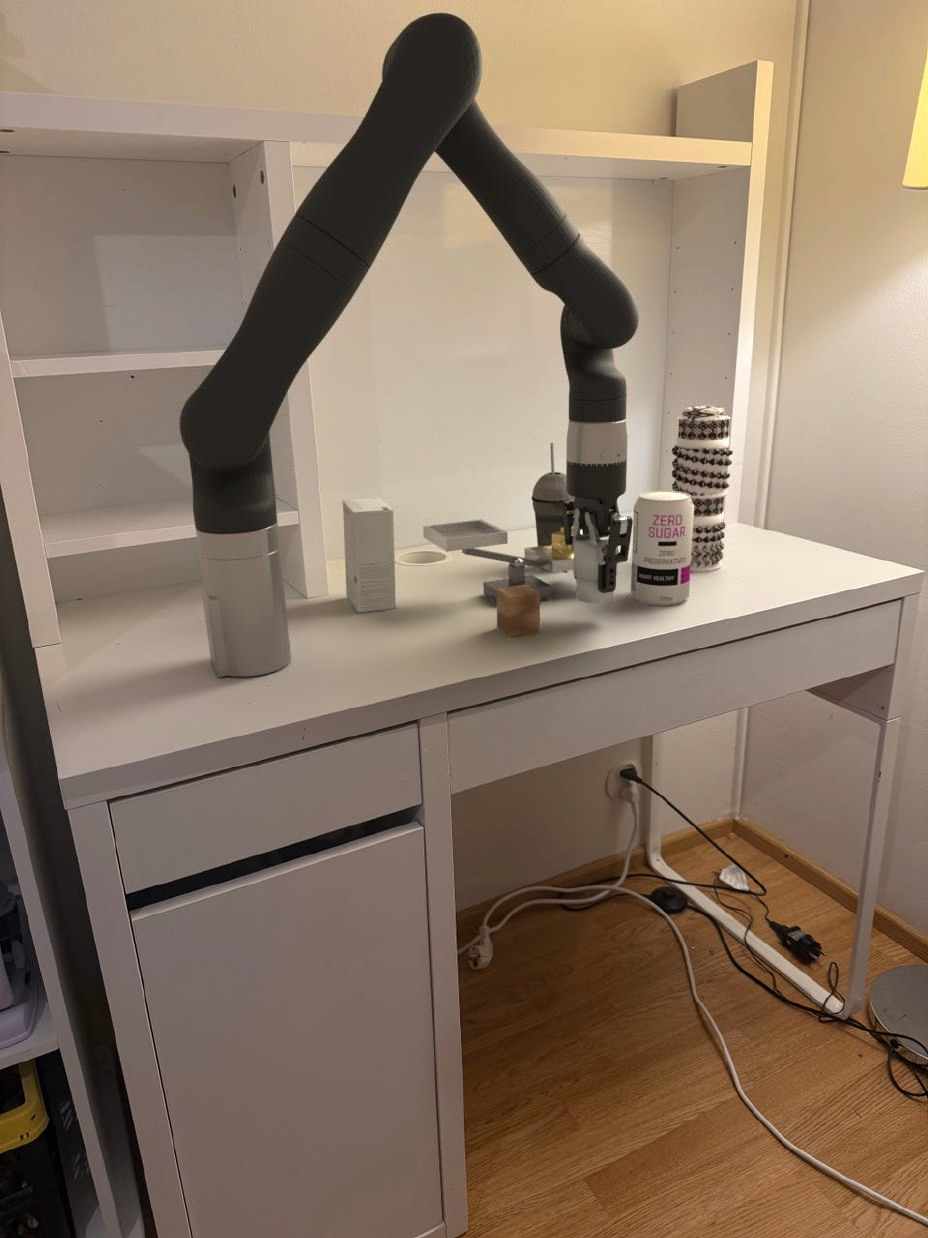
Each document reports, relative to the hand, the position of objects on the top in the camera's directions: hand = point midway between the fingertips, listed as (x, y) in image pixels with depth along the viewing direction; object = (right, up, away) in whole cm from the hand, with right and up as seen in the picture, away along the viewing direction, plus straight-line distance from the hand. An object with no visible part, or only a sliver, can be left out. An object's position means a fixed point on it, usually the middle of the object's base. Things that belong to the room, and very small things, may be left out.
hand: (594, 584), depth 115 cm
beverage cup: (-2, +4, +27) cm, 28 cm away
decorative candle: (+20, +4, +27) cm, 34 cm away
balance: (-9, -1, +13) cm, 17 cm away
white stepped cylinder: (0, -2, +1) cm, 2 cm away
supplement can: (+11, -2, +11) cm, 16 cm away
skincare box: (-31, -2, +13) cm, 33 cm away
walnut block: (-10, -6, 0) cm, 12 cm away
